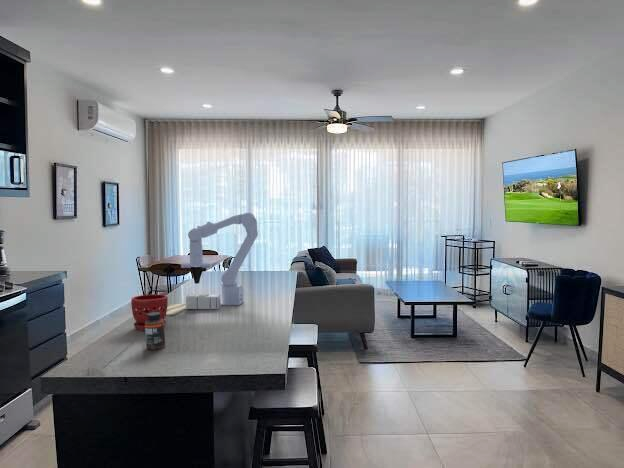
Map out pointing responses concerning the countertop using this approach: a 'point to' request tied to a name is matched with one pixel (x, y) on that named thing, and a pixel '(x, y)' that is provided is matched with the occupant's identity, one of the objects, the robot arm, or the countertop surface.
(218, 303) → the syrup box
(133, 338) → the countertop surface
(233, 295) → the robot arm
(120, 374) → the countertop surface
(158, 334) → the supplement bottle
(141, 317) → the plant pot
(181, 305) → the wooden board
